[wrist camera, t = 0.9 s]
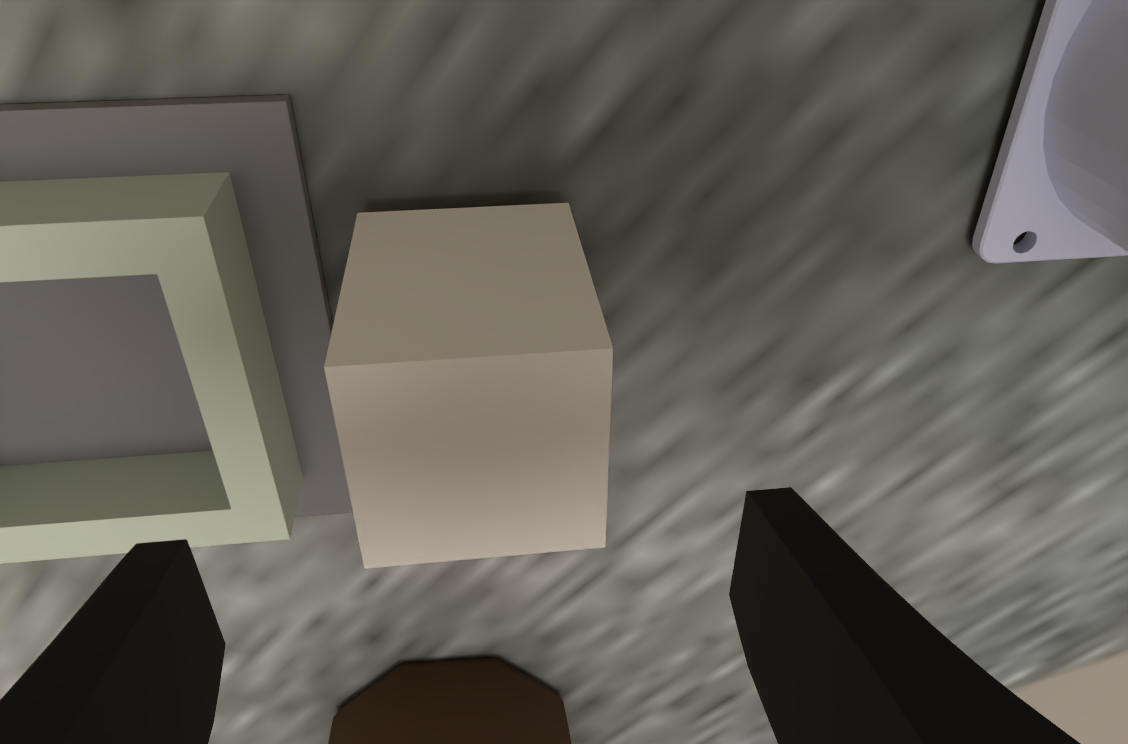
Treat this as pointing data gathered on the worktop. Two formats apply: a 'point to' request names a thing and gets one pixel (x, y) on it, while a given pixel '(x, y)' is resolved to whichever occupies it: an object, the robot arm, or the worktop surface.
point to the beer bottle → (453, 707)
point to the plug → (471, 385)
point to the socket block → (159, 328)
